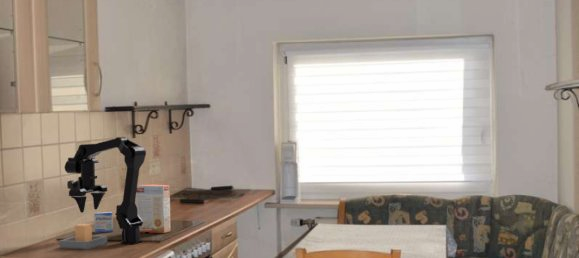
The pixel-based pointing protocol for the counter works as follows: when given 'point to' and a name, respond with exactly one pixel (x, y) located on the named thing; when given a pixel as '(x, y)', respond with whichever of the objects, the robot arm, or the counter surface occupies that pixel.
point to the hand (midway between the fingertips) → (88, 210)
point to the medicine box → (103, 222)
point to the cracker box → (154, 208)
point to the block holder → (83, 243)
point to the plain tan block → (83, 232)
